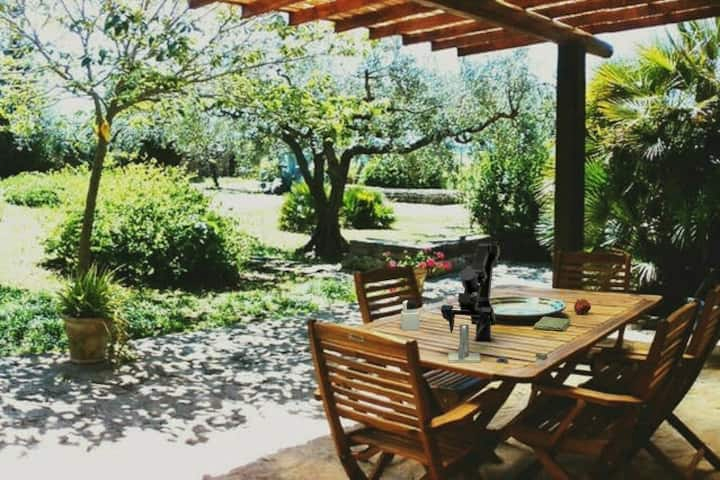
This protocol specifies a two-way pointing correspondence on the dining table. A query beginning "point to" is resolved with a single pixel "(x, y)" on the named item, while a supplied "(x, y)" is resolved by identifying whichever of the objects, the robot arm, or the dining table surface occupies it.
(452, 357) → the cream ceramic tile
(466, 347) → the steel hook
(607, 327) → the dining table surface
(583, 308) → the red spiky fruit
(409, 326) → the medicine bottle
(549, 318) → the washcloth
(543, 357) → the vise jaws
